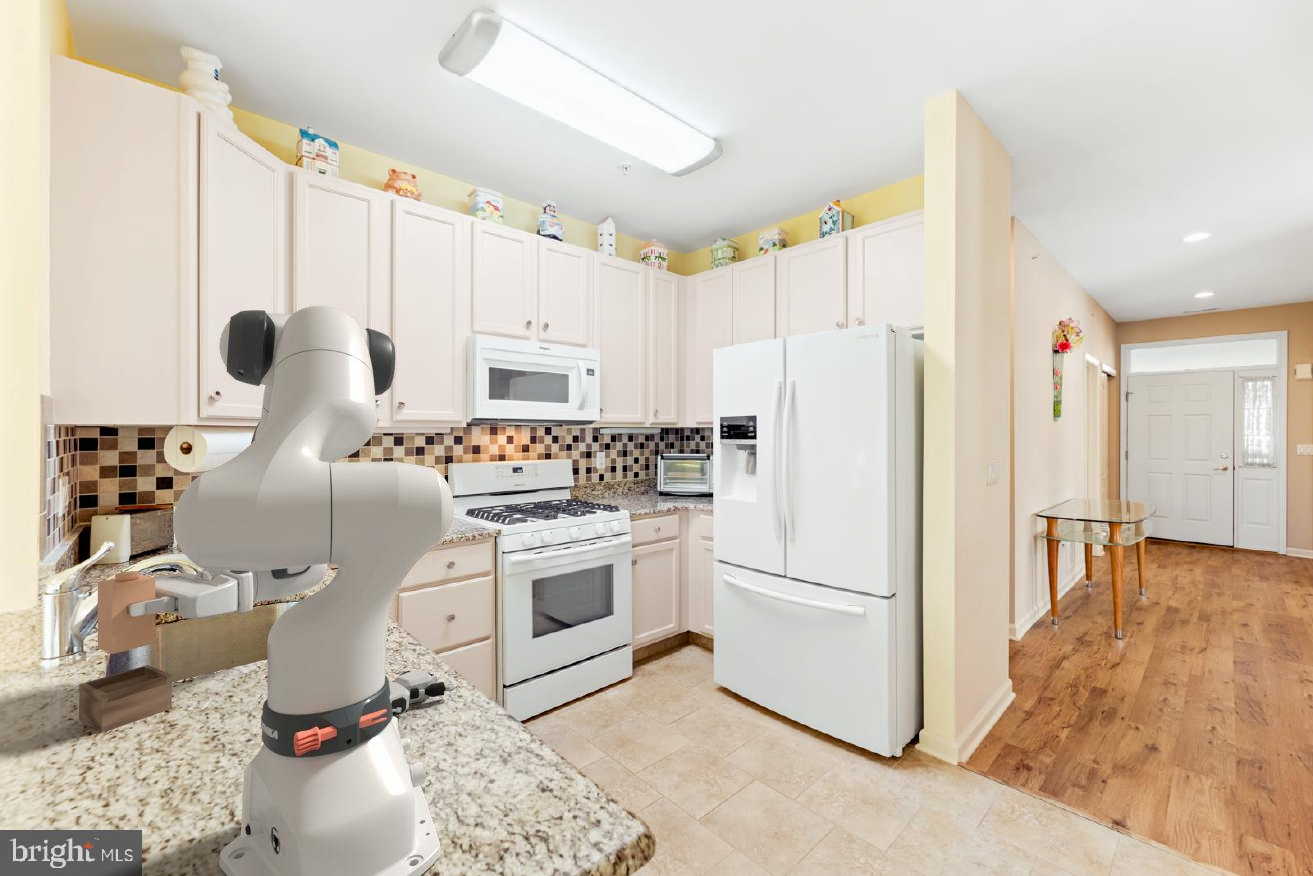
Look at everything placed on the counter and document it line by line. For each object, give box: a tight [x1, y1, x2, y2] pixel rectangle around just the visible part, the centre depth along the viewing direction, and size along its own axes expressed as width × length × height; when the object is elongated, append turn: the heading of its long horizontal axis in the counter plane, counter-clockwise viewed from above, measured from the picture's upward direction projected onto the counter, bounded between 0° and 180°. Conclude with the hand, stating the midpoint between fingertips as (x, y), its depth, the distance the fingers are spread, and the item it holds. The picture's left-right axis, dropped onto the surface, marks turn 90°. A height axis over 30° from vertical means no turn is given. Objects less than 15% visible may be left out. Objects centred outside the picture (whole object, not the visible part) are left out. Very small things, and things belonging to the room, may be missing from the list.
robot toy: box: [389, 670, 456, 718], centre depth 86 cm, size 12×4×15 cm
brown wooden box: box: [78, 664, 173, 733], centre depth 84 cm, size 8×8×5 cm
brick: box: [97, 570, 157, 655], centre depth 85 cm, size 5×5×11 cm
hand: (118, 607), depth 84 cm, fingers closed on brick, 5 cm apart
